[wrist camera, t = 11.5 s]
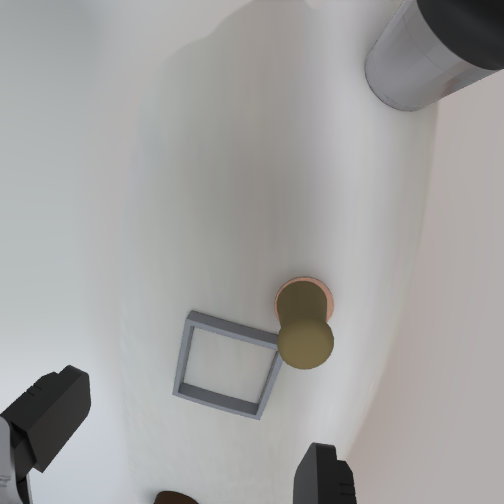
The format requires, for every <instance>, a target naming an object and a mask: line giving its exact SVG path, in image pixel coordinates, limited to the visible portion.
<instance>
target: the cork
mask: <svg viewBox="0 0 504 504" xmlns="http://www.w3.org/2000/svg"><path fill="white" fill-rule="evenodd" d="M276 304H277V312H278V316H279V320H280V324H281V329H280V331H279V334H278V337H277V349H278V351H279V353H280V356H281V358H282V359H283V360H284V361H285V362H286V363H287V364H288V365H290V366H292V367H294V368H298V369H312V368H315V367H318V366H319V365H321V364H322V363H324V362H325V361H326V360H327V359H328V358H329V356H330V355H331V352H332V350H333V346H334V337H333V334H332V331H331V328H330V327H329V325H328V324H327V323H326V321H327V298H326V295H325V293H324V291H323V290H322V289H321V288H320V287H319V286H318V285H316V284H315V283H313V282H309V281H296V282H293V283H290V284H289V285H287V286H286V287H285V288H283V289H282V291H281V292H280V294H279V295H278V299H277V302H276Z"/></svg>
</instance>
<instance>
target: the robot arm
mask: <svg viewBox="0 0 504 504" xmlns="http://www.w3.org/2000/svg"><path fill="white" fill-rule="evenodd" d="M501 69H504V0H404V1H403V2H402V4H401V5H400V7H399V8H398V10H397V11H396V13H395V14H394V16H393V17H392V19H391V20H390V22H389V23H388V25H387V26H386V28H385V29H384V31H383V33H382V34H381V36H380V37H379V39H378V40H377V41H376V43H375V44H374V46H373V48H372V49H371V51H370V52H369V54H368V56H367V58H366V62H365V74H366V78H367V81H368V83H369V85H370V87H371V89H372V90H373V91H374V93H375V94H376V95H377V96H378V97H379V98H380V99H381V100H382V101H383V102H385V103H386V104H387V105H389V106H391V107H393V108H396V109H399V110H403V111H414V110H418V109H421V108H423V107H425V106H427V105H429V104H431V103H433V102H435V101H437V100H439V99H441V98H443V97H445V96H447V95H449V94H451V93H453V92H456V91H457V90H460V89H462V88H464V87H466V86H468V85H470V84H472V83H474V82H476V81H478V80H481V79H482V78H485V77H487V76H489V75H491V74H493V73H495V72H498V71H499V70H501ZM90 407H91V397H90V383H89V375H88V374H87V373H86V372H84V371H81V370H79V369H77V368H75V367H73V366H71V365H68V366H66V367H65V368H64V369H63V370H62V371H61V372H60V373H59V374H58V373H56V372H52V373H49V374H47V375H44V376H42V377H41V378H40V379H38V380H37V381H36V383H34V385H33V386H31V387H30V388H28V389H27V391H26V392H24V393H23V394H22V395H21V396H20V397H19V398H18V399H16V401H14V402H13V403H12V404H11V405H10V406H9V407H8V408H7V409H6V410H5V411H3V412H2V413H1V414H0V504H33V501H32V494H31V487H30V479H29V473H28V472H29V471H30V470H31V469H32V467H33V468H35V469H37V470H38V471H40V472H41V473H43V472H44V471H45V469H46V468H47V467H48V465H49V464H50V463H51V461H52V460H53V459H54V457H55V456H56V455H57V454H58V452H59V451H60V450H61V449H62V447H63V446H64V445H65V444H66V442H67V441H68V440H69V438H70V437H71V436H72V435H73V433H74V432H75V431H76V430H77V428H78V427H79V426H80V425H81V423H82V422H83V421H84V420H85V418H86V417H87V415H88V413H89V410H90ZM293 504H357V502H356V497H355V487H354V479H353V473H352V471H351V469H350V468H349V466H348V464H347V463H346V461H341V460H337V455H336V448H335V446H334V445H328V444H321V443H314V442H313V443H312V444H311V445H310V447H309V449H308V450H307V452H306V454H305V456H304V457H303V459H302V461H301V462H300V464H299V466H298V468H297V470H296V473H295V477H294V489H293Z"/></svg>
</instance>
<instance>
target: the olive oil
mask: <svg viewBox="0 0 504 504" xmlns="http://www.w3.org/2000/svg"><path fill="white" fill-rule="evenodd" d="M154 504H198V503H197V502H196V501H195V500H193V499H192V498H190V497H188V496H186V495H183V494H180V493H177V492H171V491H164V492H160V493H159V494H158V495H157V497H156V499H155V501H154Z"/></svg>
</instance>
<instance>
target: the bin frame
mask: <svg viewBox="0 0 504 504" xmlns="http://www.w3.org/2000/svg"><path fill="white" fill-rule="evenodd" d="M194 327H198V328H201V329H204V330H207V331H210V332H214V333H217V334H220V335H224V336H227V337H231V338H234V339H238V340H241V341H245V342H248V343H252V344H256V345H259V346H263V347H267V348H271V349H274V350H277V353H276V356H275V359H274V361H273V364H272V367H271V370H270V373H269V375H268V378H267V381H266V384H265V386H264V389H263V392H262V394H261V397H260V400H259V402H258V404H254V403H250V402H246V401H242V400H239V399H235V398H231V397H228V396H224V395H221V394H217V393H214V392H211V391H207V390H204V389H201V388H198V387H194V386H191V385H188V384H185V383H183V380H184V374H185V369H186V364H187V359H188V354H189V349H190V344H191V339H192V334H193V329H194ZM277 337H278V335H275V334H271V333H267V332H264V331H260V330H256V329H253V328H249V327H245V326H242V325H238V324H235V323H231V322H228V321H225V320H221V319H218V318H215V317H211V316H208V315H205V314H201V313H198V312H195V311H191V312H190V314H189V315H188V317H187V318H186V322H185V327H184V332H183V337H182V343H181V348H180V353H179V359H178V365H177V370H176V376H175V382H174V388H173V394H172V395H175V396H178V397H181V398H184V399H187V400H190V401H193V402H196V403H199V404H202V405H206V406H209V407H212V408H216V409H219V410H223V411H226V412H230V413H233V414H237V415H241V416H245V417H249V418H253V419H257V420H260V418H261V416H262V413H263V411H264V408H265V406H266V403H267V401H268V398H269V395H270V393H271V390H272V388H273V385H274V382H275V380H276V377H277V375H278V372H279V369H280V366H281V364H282V361H283V359H282V358H281V356H280V353H279V351H278V349H277Z"/></svg>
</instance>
